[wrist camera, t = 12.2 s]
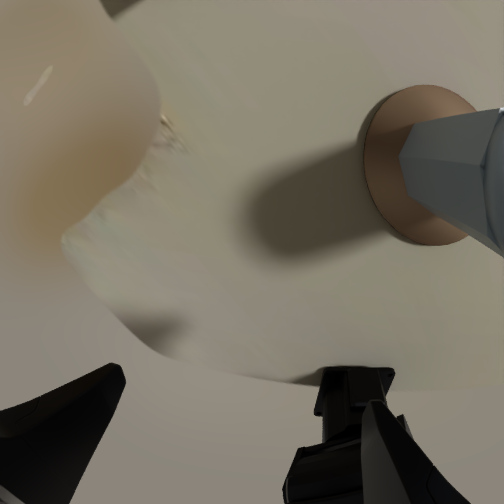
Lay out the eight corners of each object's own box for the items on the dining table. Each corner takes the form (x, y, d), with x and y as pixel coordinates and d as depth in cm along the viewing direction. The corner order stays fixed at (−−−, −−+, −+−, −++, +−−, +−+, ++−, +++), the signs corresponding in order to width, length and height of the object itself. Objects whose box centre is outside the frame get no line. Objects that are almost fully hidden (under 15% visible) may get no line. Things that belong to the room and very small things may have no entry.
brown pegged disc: (482, 248, 16) (507, 265, 13) (356, 236, 18) (367, 255, 15) (494, 108, 13) (522, 105, 9) (363, 72, 14) (376, 56, 11)
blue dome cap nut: (482, 201, 15) (578, 246, 6) (412, 222, 16) (497, 290, 7) (464, 114, 13) (566, 105, 4) (390, 128, 15) (478, 110, 6)
